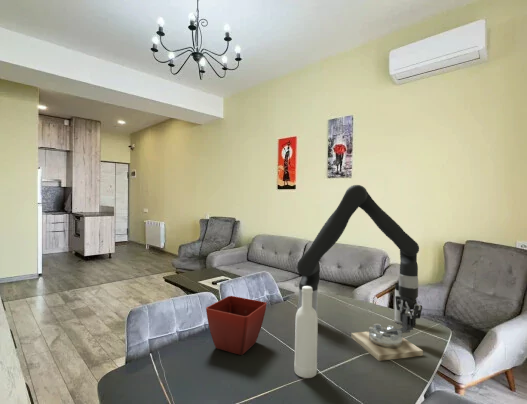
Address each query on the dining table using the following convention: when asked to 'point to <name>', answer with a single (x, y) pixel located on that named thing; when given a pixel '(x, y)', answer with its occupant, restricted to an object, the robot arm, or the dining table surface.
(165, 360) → the dining table surface
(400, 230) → the robot arm
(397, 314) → the travel mug
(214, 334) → the plant pot
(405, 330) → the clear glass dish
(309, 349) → the bottle
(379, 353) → the base plate
